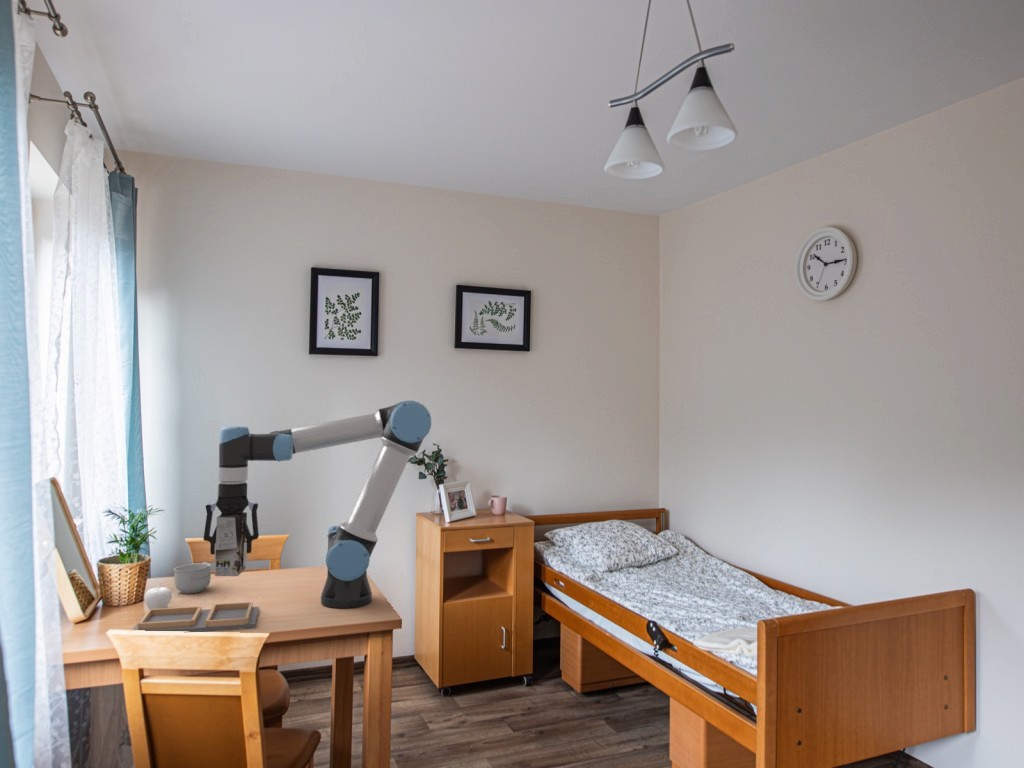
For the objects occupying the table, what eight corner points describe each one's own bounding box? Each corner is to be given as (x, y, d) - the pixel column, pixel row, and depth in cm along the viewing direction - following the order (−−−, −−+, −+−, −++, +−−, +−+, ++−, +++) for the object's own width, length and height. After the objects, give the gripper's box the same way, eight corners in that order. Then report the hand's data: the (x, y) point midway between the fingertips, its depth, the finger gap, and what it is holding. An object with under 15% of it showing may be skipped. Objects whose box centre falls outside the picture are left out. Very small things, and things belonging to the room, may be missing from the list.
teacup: (193, 597, 224) (193, 571, 224) (165, 593, 227) (165, 568, 228) (224, 586, 237) (225, 561, 237) (197, 583, 241) (198, 559, 241)
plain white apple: (175, 609, 211) (176, 581, 211) (150, 615, 205) (151, 586, 205) (164, 605, 215) (165, 577, 215) (140, 610, 210) (140, 582, 210)
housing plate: (258, 610, 211) (259, 601, 211) (254, 627, 195) (254, 618, 195) (145, 616, 203) (145, 607, 203) (130, 635, 187) (131, 626, 187)
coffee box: (238, 576, 197) (240, 516, 198) (214, 576, 197) (215, 516, 197) (246, 568, 207) (247, 511, 207) (222, 569, 206) (224, 511, 206)
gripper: (271, 480, 208) (269, 561, 208) (196, 481, 203) (194, 564, 203) (269, 483, 201) (267, 567, 201) (192, 484, 196) (190, 570, 195)
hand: (230, 565), depth 202 cm, fingers closed on coffee box, 7 cm apart
